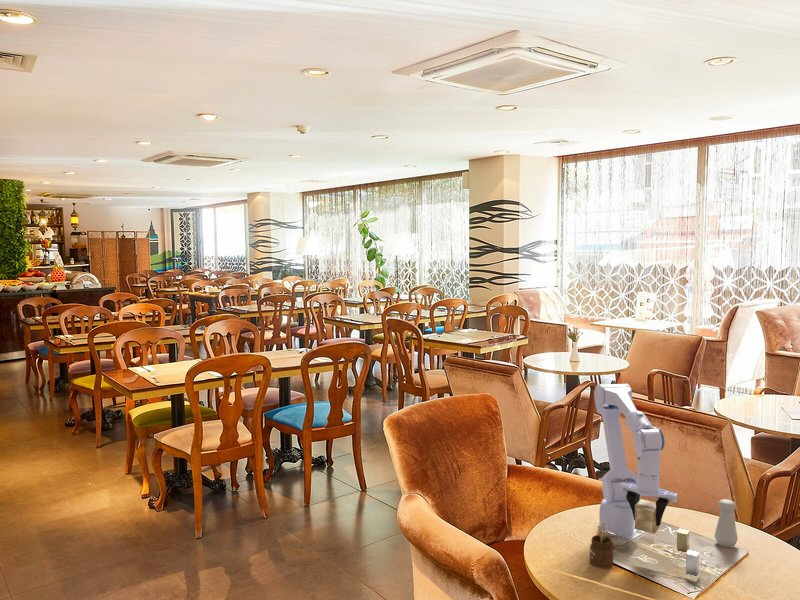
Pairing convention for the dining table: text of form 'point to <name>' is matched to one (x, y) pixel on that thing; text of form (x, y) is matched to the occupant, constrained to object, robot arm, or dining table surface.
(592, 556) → the utensil holder
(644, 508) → the wood block
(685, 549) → the brass post
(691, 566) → the steel post
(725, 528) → the salt shaker
